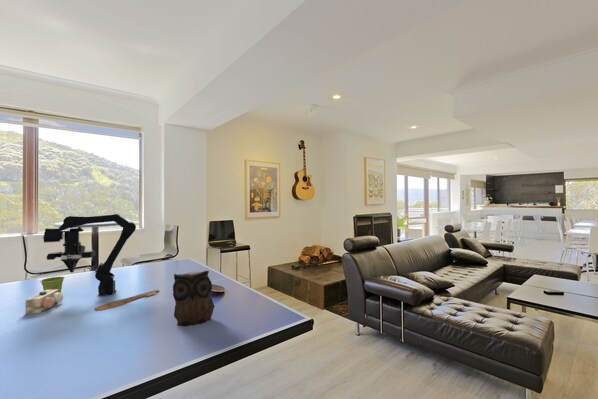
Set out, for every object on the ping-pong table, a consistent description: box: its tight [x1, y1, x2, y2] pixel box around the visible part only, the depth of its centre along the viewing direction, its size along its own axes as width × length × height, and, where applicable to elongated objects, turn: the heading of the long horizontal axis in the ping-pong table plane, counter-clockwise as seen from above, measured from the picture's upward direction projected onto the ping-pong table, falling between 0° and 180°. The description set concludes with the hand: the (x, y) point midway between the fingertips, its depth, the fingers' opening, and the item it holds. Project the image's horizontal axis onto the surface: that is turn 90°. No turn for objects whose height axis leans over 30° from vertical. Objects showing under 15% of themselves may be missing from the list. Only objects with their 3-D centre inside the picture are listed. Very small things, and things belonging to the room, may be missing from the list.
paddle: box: [93, 289, 160, 312], centre depth 138 cm, size 8×30×2 cm, turn 149°
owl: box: [172, 270, 215, 328], centre depth 112 cm, size 13×13×20 cm
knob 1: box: [42, 297, 55, 309], centre depth 126 cm, size 7×4×4 cm, turn 103°
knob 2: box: [52, 291, 64, 304], centre depth 133 cm, size 7×4×4 cm, turn 103°
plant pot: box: [39, 276, 65, 293], centre depth 145 cm, size 9×9×9 cm
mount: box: [25, 289, 59, 315], centre depth 129 cm, size 5×14×7 cm, turn 13°
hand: (72, 272), depth 141 cm, fingers closed
